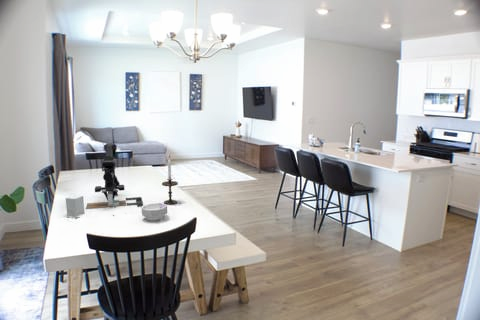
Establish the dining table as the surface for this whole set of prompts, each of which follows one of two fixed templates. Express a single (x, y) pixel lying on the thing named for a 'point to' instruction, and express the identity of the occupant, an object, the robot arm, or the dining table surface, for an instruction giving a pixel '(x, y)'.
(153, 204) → the paper bowls
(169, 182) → the candlestick
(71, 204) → the supplement box
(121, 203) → the board
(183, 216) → the dining table surface
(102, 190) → the robot arm
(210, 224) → the dining table surface
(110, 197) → the grey block
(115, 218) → the dining table surface
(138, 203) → the tray
